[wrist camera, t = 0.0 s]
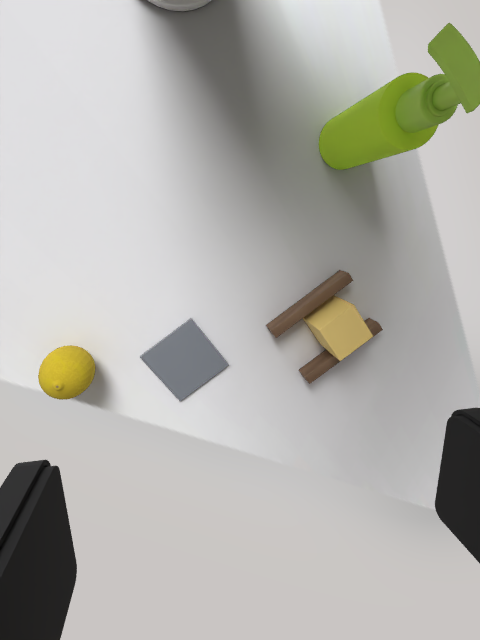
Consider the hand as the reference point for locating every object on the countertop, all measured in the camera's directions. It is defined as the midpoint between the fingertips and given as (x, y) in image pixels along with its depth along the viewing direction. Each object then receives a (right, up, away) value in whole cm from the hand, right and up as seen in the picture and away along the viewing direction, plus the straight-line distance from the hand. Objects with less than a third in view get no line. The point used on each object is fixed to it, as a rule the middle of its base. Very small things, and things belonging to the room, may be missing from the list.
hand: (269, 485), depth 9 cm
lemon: (-21, -1, +36) cm, 41 cm away
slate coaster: (-8, -1, +38) cm, 39 cm away
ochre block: (+11, +4, +40) cm, 42 cm away
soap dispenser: (+11, +25, +35) cm, 44 cm away
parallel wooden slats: (+10, +3, +40) cm, 42 cm away
